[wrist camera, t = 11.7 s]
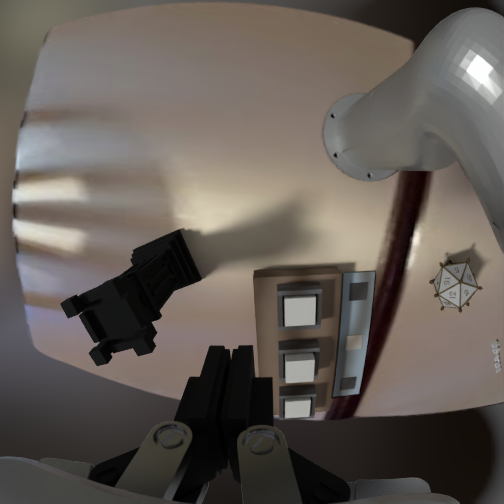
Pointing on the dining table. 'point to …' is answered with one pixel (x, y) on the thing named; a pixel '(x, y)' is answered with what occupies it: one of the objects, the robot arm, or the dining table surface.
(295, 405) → the button
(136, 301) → the chess piece
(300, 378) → the button middle
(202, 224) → the dining table surface
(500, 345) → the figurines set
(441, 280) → the game die
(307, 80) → the dining table surface
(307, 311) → the button
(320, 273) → the board
